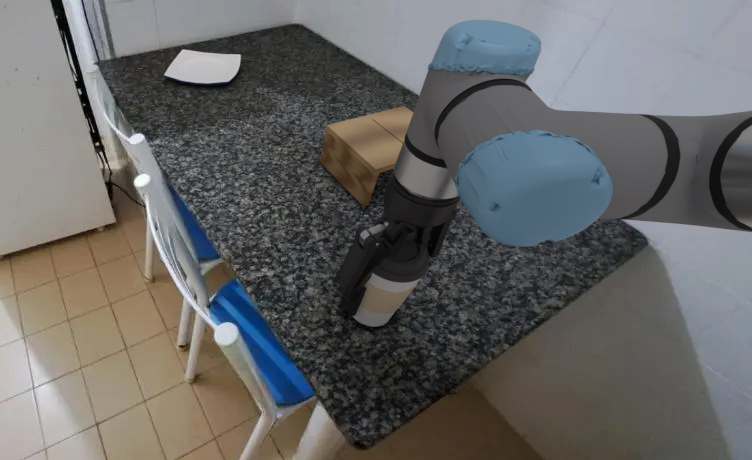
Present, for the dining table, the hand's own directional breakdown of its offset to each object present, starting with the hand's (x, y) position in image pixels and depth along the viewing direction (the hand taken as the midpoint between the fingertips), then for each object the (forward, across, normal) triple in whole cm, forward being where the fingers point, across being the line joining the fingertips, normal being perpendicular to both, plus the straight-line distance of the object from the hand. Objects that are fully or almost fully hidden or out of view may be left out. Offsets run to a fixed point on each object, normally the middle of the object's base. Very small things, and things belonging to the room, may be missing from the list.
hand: (373, 298), depth 59 cm
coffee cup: (+3, 0, 0) cm, 3 cm away
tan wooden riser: (+2, -23, -27) cm, 36 cm away
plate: (+2, -5, -86) cm, 86 cm away
